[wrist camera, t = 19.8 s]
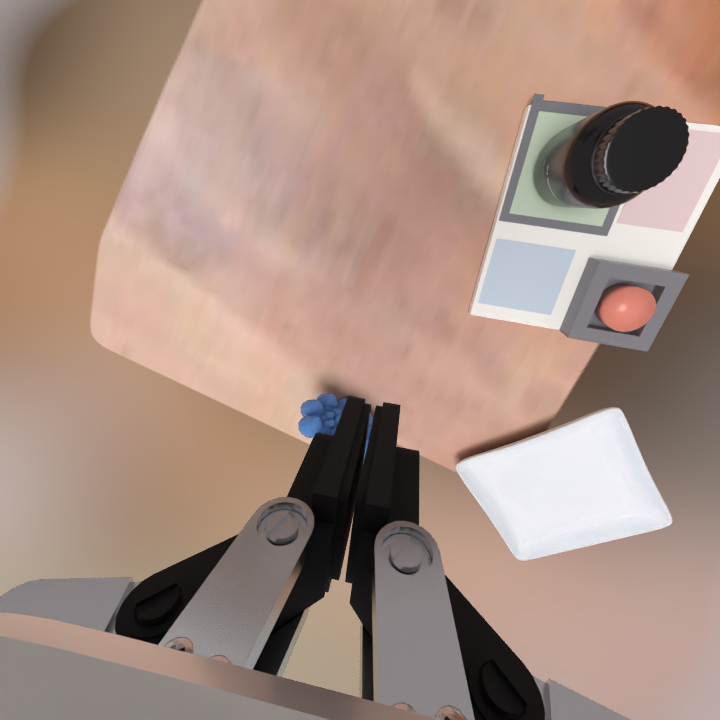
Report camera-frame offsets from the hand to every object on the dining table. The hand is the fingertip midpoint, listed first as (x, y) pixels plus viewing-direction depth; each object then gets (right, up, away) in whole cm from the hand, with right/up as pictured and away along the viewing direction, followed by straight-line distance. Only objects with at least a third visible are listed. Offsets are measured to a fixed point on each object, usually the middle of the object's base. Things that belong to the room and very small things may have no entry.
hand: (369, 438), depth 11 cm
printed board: (+23, +16, +25) cm, 37 cm away
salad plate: (+28, -14, +38) cm, 49 cm away
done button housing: (+27, +9, +25) cm, 38 cm away
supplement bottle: (+20, +21, +21) cm, 36 cm away
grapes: (-2, -4, +39) cm, 39 cm away
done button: (+26, +8, +24) cm, 37 cm away
